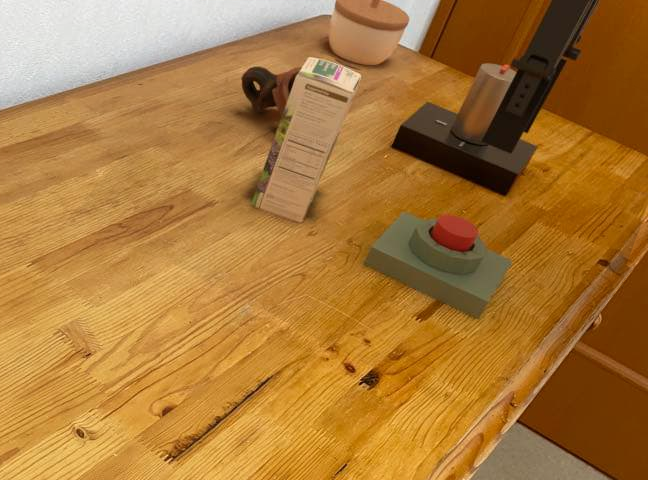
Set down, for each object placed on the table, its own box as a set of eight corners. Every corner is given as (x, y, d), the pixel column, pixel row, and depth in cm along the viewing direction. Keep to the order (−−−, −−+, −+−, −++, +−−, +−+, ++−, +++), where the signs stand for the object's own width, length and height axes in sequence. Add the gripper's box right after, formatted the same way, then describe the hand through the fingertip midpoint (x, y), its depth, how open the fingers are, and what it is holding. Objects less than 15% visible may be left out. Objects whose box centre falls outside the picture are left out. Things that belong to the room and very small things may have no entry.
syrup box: (261, 185, 93) (305, 53, 83) (313, 202, 92) (363, 71, 82) (249, 207, 89) (294, 71, 79) (303, 226, 88) (355, 90, 78)
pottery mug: (318, 120, 110) (353, 81, 102) (297, 176, 106) (331, 140, 99) (237, 74, 108) (267, 31, 100) (213, 130, 104) (242, 89, 97)
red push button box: (502, 278, 87) (522, 245, 85) (477, 320, 81) (497, 286, 78) (395, 228, 91) (410, 195, 88) (362, 265, 84) (378, 230, 82)
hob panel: (526, 167, 109) (538, 145, 107) (505, 196, 102) (518, 172, 100) (417, 122, 114) (427, 100, 112) (390, 147, 106) (401, 123, 104)
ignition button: (474, 242, 84) (483, 227, 83) (463, 257, 81) (472, 242, 80) (436, 225, 85) (444, 210, 84) (425, 240, 83) (432, 224, 81)
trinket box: (387, 58, 130) (413, -6, 124) (389, 84, 122) (416, 17, 116) (319, 40, 131) (341, -24, 124) (316, 64, 123) (340, -3, 116)
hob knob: (484, 149, 103) (519, 82, 98) (446, 133, 105) (477, 67, 99) (494, 137, 107) (528, 72, 101) (456, 121, 108) (487, 57, 102)
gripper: (631, -188, 67) (491, 93, 83) (591, -178, 55) (436, 150, 71) (729, -161, 65) (566, 123, 81) (711, -145, 53) (522, 187, 68)
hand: (505, 135), depth 76 cm, fingers open, 5 cm apart
